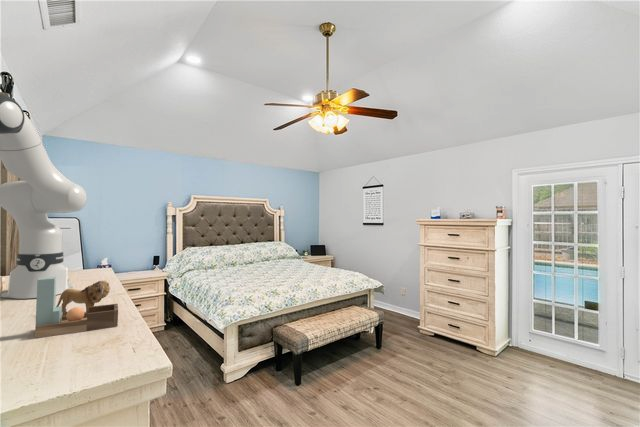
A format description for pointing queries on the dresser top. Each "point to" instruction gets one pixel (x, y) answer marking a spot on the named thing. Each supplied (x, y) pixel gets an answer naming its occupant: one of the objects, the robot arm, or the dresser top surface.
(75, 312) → the ball
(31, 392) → the dresser top surface
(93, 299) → the lion figurine
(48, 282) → the grey-green l-shaped block
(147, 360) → the dresser top surface
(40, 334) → the lane
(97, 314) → the dark brown open box
